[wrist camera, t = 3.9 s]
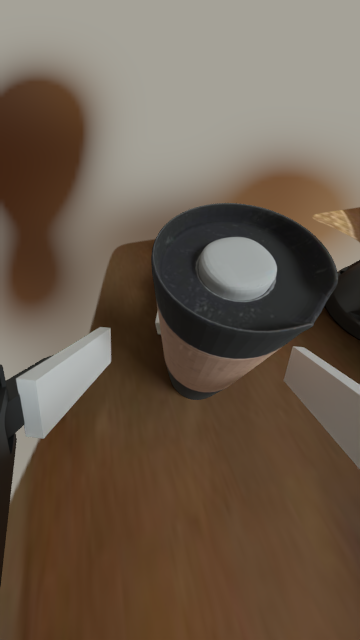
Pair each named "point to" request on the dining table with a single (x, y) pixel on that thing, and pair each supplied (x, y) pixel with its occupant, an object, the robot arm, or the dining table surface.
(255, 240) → the travel mug
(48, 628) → the dining table surface
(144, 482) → the dining table surface
